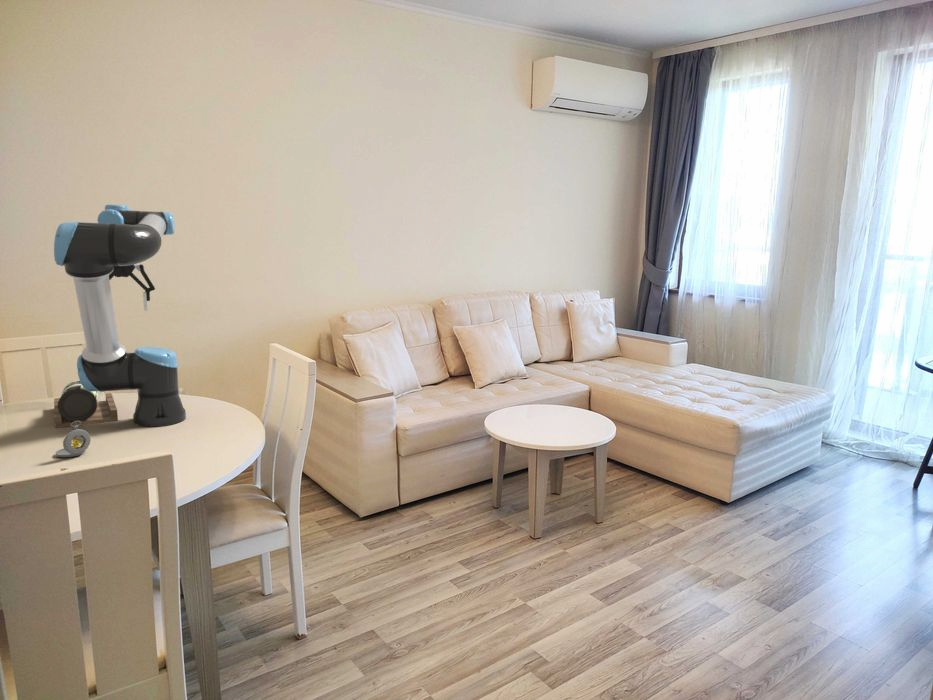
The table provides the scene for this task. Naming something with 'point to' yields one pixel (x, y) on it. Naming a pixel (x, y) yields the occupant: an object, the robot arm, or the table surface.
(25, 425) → the table surface
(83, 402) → the coffee can
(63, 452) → the pocket watch
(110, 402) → the cradle
